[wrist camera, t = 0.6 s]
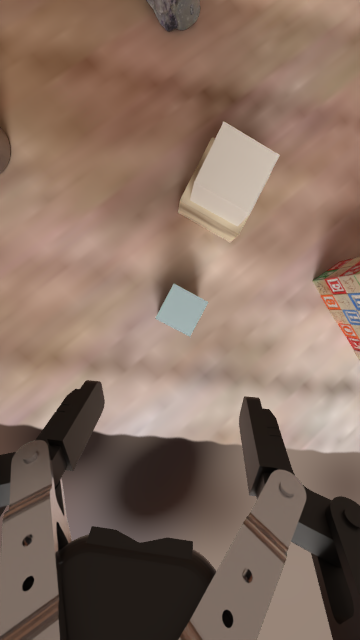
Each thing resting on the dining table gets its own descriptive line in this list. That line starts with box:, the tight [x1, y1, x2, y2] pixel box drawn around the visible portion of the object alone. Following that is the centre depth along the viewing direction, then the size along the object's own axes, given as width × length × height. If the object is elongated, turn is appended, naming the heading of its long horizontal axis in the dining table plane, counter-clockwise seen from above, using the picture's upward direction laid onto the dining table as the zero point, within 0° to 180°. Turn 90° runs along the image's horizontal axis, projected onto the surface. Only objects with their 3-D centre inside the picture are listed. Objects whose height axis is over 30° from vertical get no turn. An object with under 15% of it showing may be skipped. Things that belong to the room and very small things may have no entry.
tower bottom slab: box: [178, 137, 271, 242], centre depth 35 cm, size 10×10×5 cm
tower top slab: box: [190, 122, 279, 227], centre depth 30 cm, size 8×8×5 cm
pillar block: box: [155, 284, 208, 336], centre depth 34 cm, size 5×5×10 cm
